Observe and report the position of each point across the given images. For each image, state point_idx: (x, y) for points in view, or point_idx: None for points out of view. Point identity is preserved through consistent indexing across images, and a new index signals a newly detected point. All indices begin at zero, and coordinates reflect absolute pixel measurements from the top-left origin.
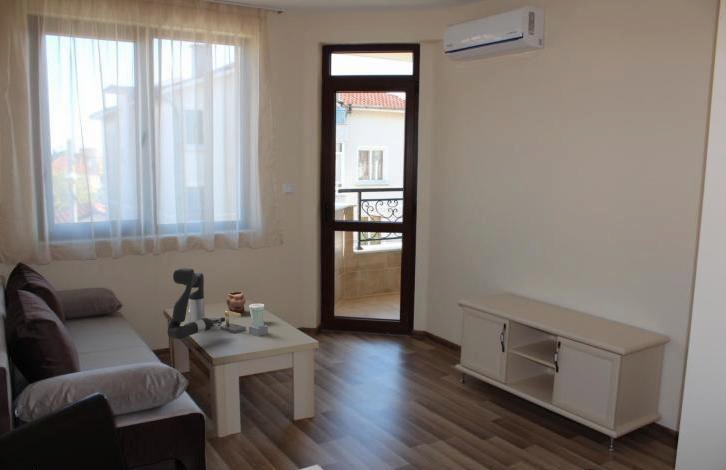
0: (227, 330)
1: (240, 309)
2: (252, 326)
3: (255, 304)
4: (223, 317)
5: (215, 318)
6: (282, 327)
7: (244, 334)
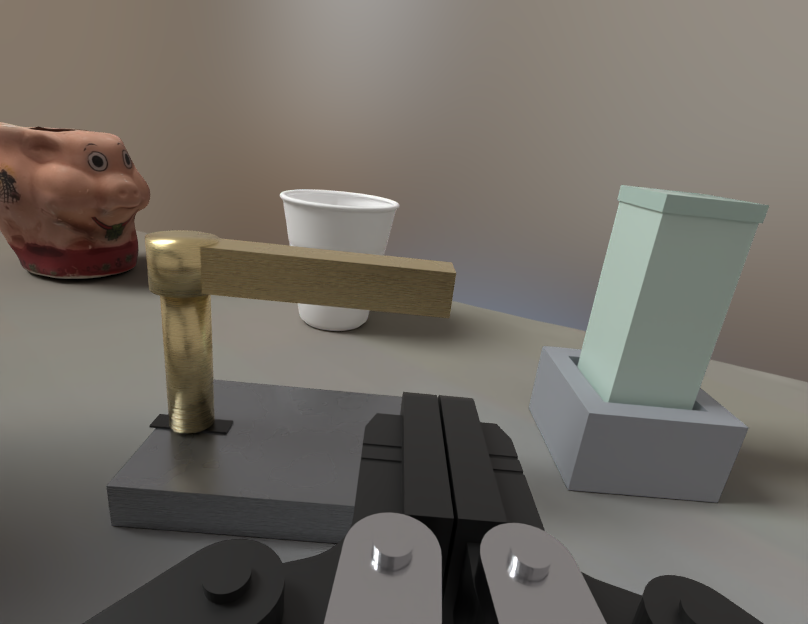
0: (271, 525)
1: (120, 243)
2: (598, 399)
3: (301, 195)
4: (428, 395)
5: (286, 580)
6: (560, 337)
7: (556, 523)
